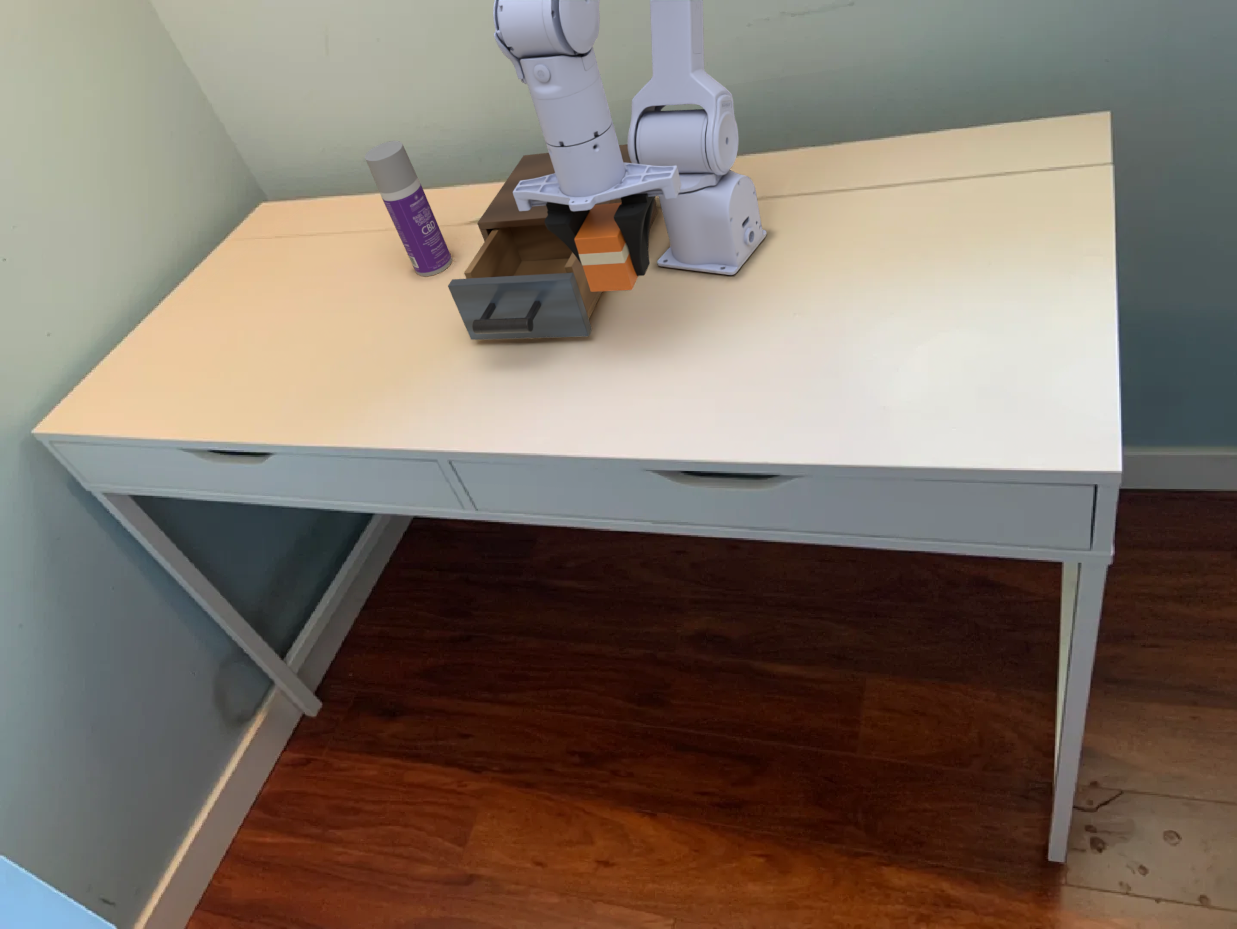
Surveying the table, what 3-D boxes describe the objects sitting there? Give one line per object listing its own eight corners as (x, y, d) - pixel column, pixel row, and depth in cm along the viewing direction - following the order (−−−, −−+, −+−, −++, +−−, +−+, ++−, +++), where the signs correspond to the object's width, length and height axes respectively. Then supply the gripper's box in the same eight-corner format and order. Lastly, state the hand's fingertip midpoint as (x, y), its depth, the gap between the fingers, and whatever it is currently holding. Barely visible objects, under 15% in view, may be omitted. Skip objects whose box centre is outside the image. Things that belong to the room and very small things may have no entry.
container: (445, 274, 114) (395, 157, 104) (410, 278, 115) (357, 163, 105) (457, 252, 117) (409, 137, 107) (423, 256, 118) (372, 143, 108)
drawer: (576, 363, 93) (555, 305, 88) (455, 365, 98) (430, 311, 93) (625, 259, 104) (609, 203, 100) (515, 266, 109) (495, 213, 105)
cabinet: (624, 284, 102) (603, 212, 97) (503, 290, 108) (476, 223, 102) (658, 211, 112) (641, 142, 106) (545, 220, 117) (523, 155, 112)
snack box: (632, 290, 85) (617, 236, 81) (590, 292, 86) (573, 239, 82) (648, 254, 88) (634, 201, 85) (608, 256, 90) (592, 204, 86)
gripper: (481, 162, 78) (532, 300, 87) (649, 144, 73) (685, 293, 82) (512, 121, 83) (557, 256, 92) (672, 102, 77) (703, 247, 86)
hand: (619, 270), depth 87 cm, fingers closed on snack box, 4 cm apart
